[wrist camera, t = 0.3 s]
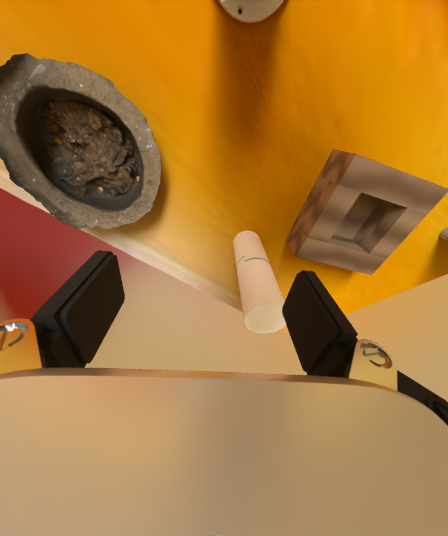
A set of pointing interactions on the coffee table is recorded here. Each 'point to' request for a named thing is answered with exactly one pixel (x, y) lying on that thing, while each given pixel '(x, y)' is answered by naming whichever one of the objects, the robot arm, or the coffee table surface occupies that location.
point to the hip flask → (444, 234)
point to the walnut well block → (360, 212)
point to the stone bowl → (76, 143)
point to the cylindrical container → (257, 285)
